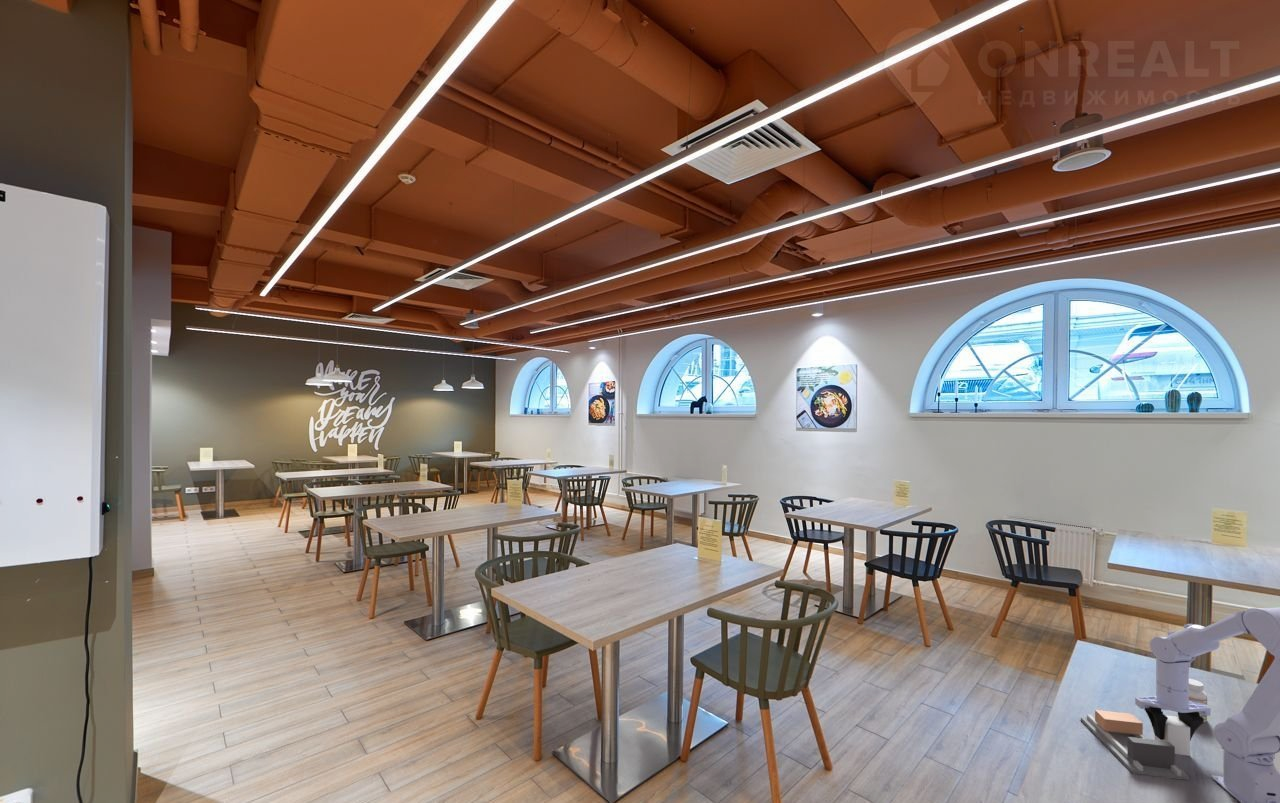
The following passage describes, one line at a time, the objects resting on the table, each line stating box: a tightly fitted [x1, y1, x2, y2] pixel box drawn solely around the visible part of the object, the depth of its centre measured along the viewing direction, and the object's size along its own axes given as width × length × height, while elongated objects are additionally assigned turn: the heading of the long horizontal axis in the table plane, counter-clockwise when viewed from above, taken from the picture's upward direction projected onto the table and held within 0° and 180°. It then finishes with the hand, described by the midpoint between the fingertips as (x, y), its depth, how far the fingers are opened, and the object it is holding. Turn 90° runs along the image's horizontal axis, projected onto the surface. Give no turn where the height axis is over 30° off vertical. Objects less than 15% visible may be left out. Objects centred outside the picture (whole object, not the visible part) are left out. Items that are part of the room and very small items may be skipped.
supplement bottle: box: [1189, 678, 1208, 723], centre depth 142 cm, size 5×5×10 cm
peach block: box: [1094, 709, 1144, 736], centre depth 135 cm, size 4×8×3 cm, turn 77°
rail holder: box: [1080, 714, 1190, 781], centre depth 131 cm, size 20×11×6 cm, turn 167°
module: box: [1154, 714, 1191, 757], centre depth 130 cm, size 4×4×7 cm
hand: (1171, 738), depth 130 cm, fingers open, 5 cm apart
